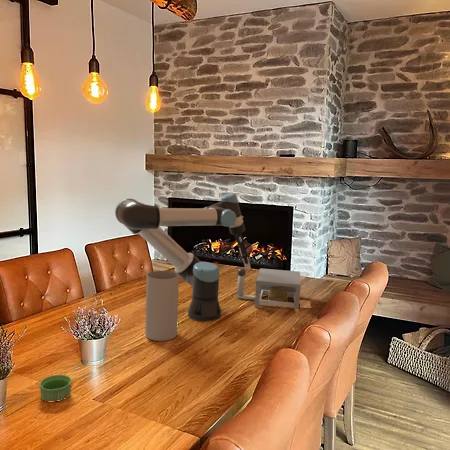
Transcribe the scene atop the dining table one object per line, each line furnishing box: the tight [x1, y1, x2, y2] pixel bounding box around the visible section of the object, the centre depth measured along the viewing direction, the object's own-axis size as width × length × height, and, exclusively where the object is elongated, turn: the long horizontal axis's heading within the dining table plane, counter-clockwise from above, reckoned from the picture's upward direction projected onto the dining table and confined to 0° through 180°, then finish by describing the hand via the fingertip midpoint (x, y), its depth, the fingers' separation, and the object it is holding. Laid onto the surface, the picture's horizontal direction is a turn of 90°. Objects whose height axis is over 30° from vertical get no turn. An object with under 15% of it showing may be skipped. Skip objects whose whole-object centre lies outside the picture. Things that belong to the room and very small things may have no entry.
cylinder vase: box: [144, 270, 180, 342], centre depth 178 cm, size 12×12×25 cm
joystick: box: [236, 267, 295, 307], centre depth 228 cm, size 30×18×15 cm, turn 81°
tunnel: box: [254, 268, 301, 310], centre depth 226 cm, size 28×25×14 cm
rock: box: [267, 286, 289, 302], centre depth 227 cm, size 10×11×10 cm
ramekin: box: [38, 374, 73, 402], centre depth 133 cm, size 9×9×4 cm
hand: (246, 264), depth 225 cm, fingers open, 13 cm apart
